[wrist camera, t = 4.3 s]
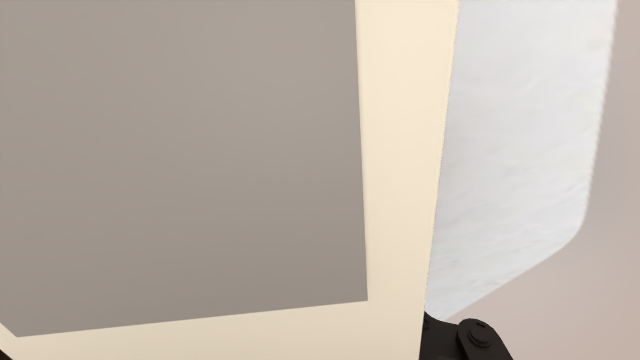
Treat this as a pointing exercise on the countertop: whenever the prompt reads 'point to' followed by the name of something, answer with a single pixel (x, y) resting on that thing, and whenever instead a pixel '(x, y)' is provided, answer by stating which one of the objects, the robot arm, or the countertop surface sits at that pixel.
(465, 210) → the countertop surface
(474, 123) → the countertop surface
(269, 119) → the beige box with buttons
